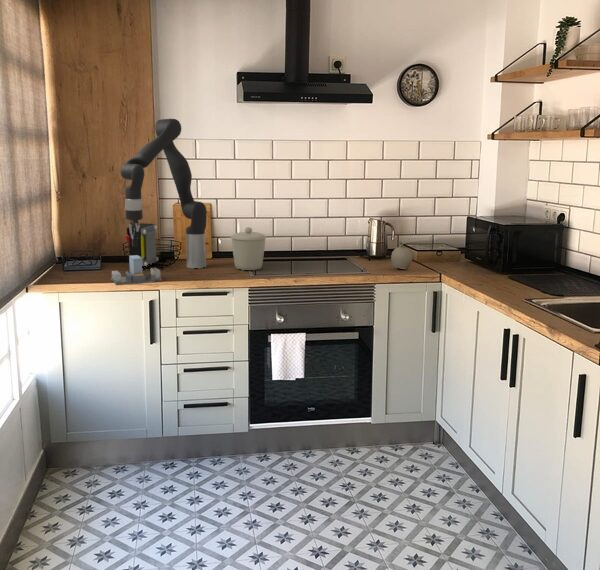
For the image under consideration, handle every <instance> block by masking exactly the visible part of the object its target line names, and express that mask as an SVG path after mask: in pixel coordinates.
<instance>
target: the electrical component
mask: <svg viewBox="0 0 600 570" xmlns="http://www.w3.org/2000/svg"><path fill="white" fill-rule="evenodd" d="M139 224H140V227H139V228H140V229H141V230H140V235H139V238H138V247H133V246H132V238H131V236H130V231H129V227H126V235H125V238H126V242H127V244H128V245H129V256H133V255H138V256H140V257H141V258H142V266H146V267H148V266H149V265H148V264H150V265H152V263H153V264H154V263H155V264H156V263H157V262H159V256H157V244H156V243H157V241H156V239H157V238H156V236H157V235H156V232H157V231H158V225H156V224H155V223H144V222H141V223H139ZM147 265H148V266H147Z"/></svg>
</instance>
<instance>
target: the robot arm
mask: <svg viewBox="0 0 600 570" xmlns="http://www.w3.org/2000/svg"><path fill="white" fill-rule="evenodd" d="M154 125H155V126H154V130H155V133H156V137H155V138H154V139H152V140H151V141H149V142H148V143H146V144H145V145H144V146H143V147H141V149H140V150H138V152H137V153H136V155H134V156H133V157H131V158H130V159H129V160H126V162H124V164H122V166H121V168H120V175H121V177H122V178H123V179H125V180H128V181H131V183H130V184H128V185H126V186H125V189H124V195H125V196H124V198H125V201H124V212H125V220H127V221H129V223H128V228H129V231H130V236H131V238H132V246H133V247H138V238H139V235H140V230H141V229H140V228H139V227H140V223H139V220H143V202H142V188H143V183H144V180H145V169H144V168H147V167H149V166H150V164H151V163H152V162H153V161H154V160H155V158H156V157H157V156H158V155H159V154H160V153H161V152H162V151H163V153H164V155H165V157H166V161H167V163H168V167H169V171H170V173H171V176H172V179H173V182H174V184H175V189H176V191H177V194H178V198H179V202H180V207H181V211H182V214H183V216H184V218H186V219H188V220H190V225H189V226H187V227H186V229H185V241H186V242H185V243H186V268H188V269H194V268H198V269H204V268H203V267H205V268H207V248H206V239H205V237H206V236H205V235H206V234H205V233H206V232H205V231H206V228H207V215H208V213H207V206H206V205H205V203H204V202H202V201H197V200H195V199H194V197H193V194H192V190H191V187H192V179H193V176H192V170H191V168H190V165H189V162H188V160H187V159H186V157H185V156H184V155H183V154H182V153H181V151H180V150H179V149H178V148H177V147H176V145H175V142H174V141H175V140H176V139H177V138H179V136H180V135H181V133H182V125H181V123H180V121H179V120H178V119H175V118H164V119H158V120H157V121H156V122H155V124H154ZM194 270H195V269H194Z"/></svg>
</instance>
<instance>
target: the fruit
mask: <svg viewBox="0 0 600 570" xmlns="http://www.w3.org/2000/svg"><path fill="white" fill-rule="evenodd" d="M397 243H398V244H397V246H396V247H395V248H394V249H393V251H392V252H391V256H390V257H391V258H390V261H391V264H392V265H393V267H394V268H395V267H396V268H395V269H397V268H407V269H408V268H409V267H410V266H411V264H412V261H413V255H412V252H411V250H410V249H409V248H407V247H404V243H403V242H401V241H398V242H397ZM400 245H401V246H400Z"/></svg>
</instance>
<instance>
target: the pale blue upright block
mask: <svg viewBox="0 0 600 570" xmlns="http://www.w3.org/2000/svg"><path fill="white" fill-rule="evenodd" d="M128 257H129V258H128V261H129V271H130V274H131V275H132V276H134V274H143V272H144V271H143V268H142V258H141V257H140V256H138V255H133V256H130V255H128Z"/></svg>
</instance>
